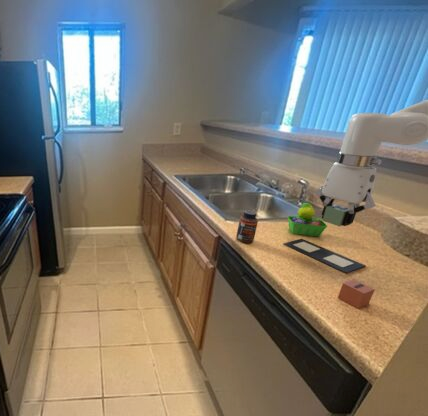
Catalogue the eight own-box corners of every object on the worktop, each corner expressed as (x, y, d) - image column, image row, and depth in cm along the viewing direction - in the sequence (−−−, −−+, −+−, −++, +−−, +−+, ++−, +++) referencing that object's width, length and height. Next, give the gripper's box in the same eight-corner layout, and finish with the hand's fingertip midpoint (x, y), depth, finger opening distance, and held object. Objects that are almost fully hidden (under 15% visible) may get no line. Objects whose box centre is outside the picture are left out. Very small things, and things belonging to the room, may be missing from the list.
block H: (348, 223, 80) (354, 208, 79) (339, 226, 79) (344, 211, 77) (331, 218, 84) (336, 203, 82) (322, 220, 82) (326, 206, 81)
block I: (368, 303, 70) (375, 288, 69) (358, 308, 69) (364, 293, 67) (348, 293, 74) (353, 278, 72) (337, 297, 73) (342, 282, 71)
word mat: (365, 266, 86) (366, 265, 86) (345, 273, 82) (346, 272, 82) (301, 239, 103) (301, 238, 103) (283, 244, 100) (283, 243, 100)
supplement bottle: (240, 243, 100) (246, 215, 96) (233, 236, 106) (238, 209, 102) (256, 243, 101) (262, 215, 96) (248, 236, 106) (253, 209, 102)
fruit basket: (289, 234, 107) (297, 207, 103) (283, 225, 115) (290, 200, 111) (324, 238, 104) (333, 211, 100) (315, 229, 111) (323, 203, 107)
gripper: (404, 165, 69) (378, 230, 75) (329, 154, 83) (313, 210, 90) (388, 168, 66) (362, 235, 73) (313, 156, 81) (298, 213, 87)
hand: (335, 221), depth 81 cm, fingers closed on block H, 4 cm apart
